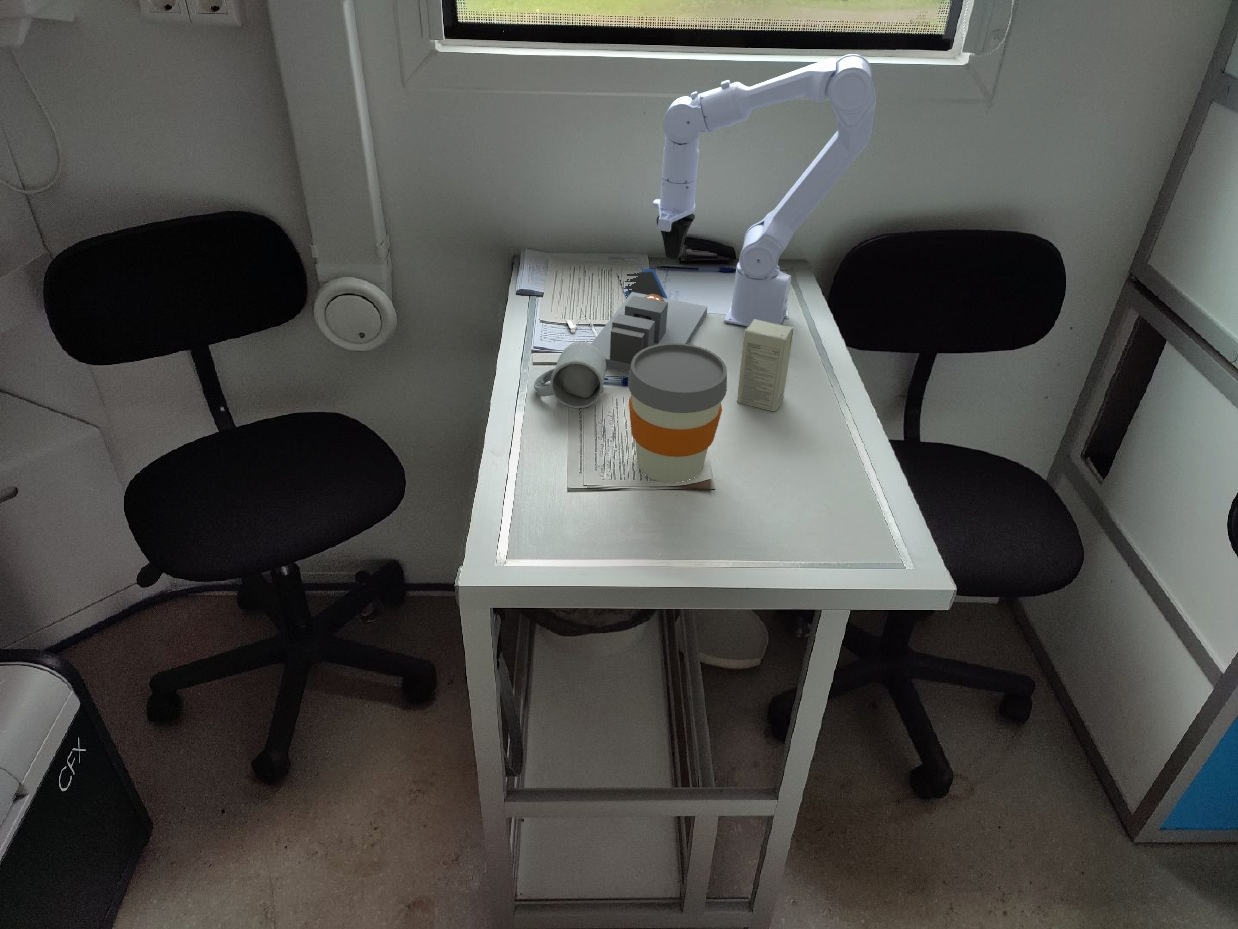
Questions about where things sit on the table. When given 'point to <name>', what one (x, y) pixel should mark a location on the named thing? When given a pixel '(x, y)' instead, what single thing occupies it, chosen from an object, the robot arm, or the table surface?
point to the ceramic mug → (575, 376)
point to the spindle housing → (646, 328)
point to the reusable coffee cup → (675, 408)
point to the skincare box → (764, 364)
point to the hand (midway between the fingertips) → (672, 256)
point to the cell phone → (645, 283)
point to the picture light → (577, 324)
